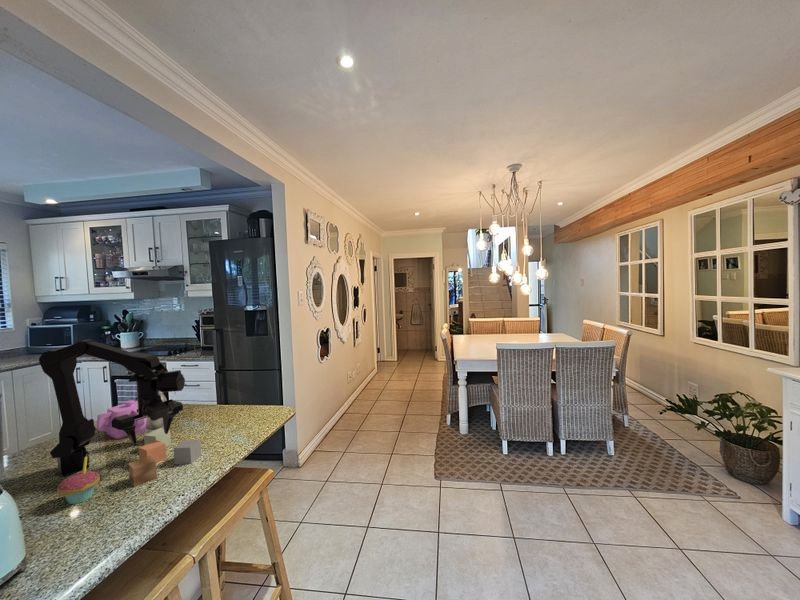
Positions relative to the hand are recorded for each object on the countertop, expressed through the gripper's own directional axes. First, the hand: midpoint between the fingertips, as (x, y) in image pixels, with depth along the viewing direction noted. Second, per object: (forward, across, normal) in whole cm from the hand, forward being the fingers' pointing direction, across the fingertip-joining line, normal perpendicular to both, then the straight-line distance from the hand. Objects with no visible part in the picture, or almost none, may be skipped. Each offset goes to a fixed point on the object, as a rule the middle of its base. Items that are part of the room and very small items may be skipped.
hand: (151, 439), depth 113 cm
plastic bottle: (+7, +8, +18) cm, 21 cm away
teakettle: (+8, +9, +38) cm, 40 cm away
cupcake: (+8, -20, -5) cm, 22 cm away
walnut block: (+8, -7, -10) cm, 14 cm away
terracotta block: (+8, 0, 0) cm, 8 cm away
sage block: (+8, +6, +10) cm, 14 cm away
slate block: (+8, +6, -10) cm, 14 cm away
